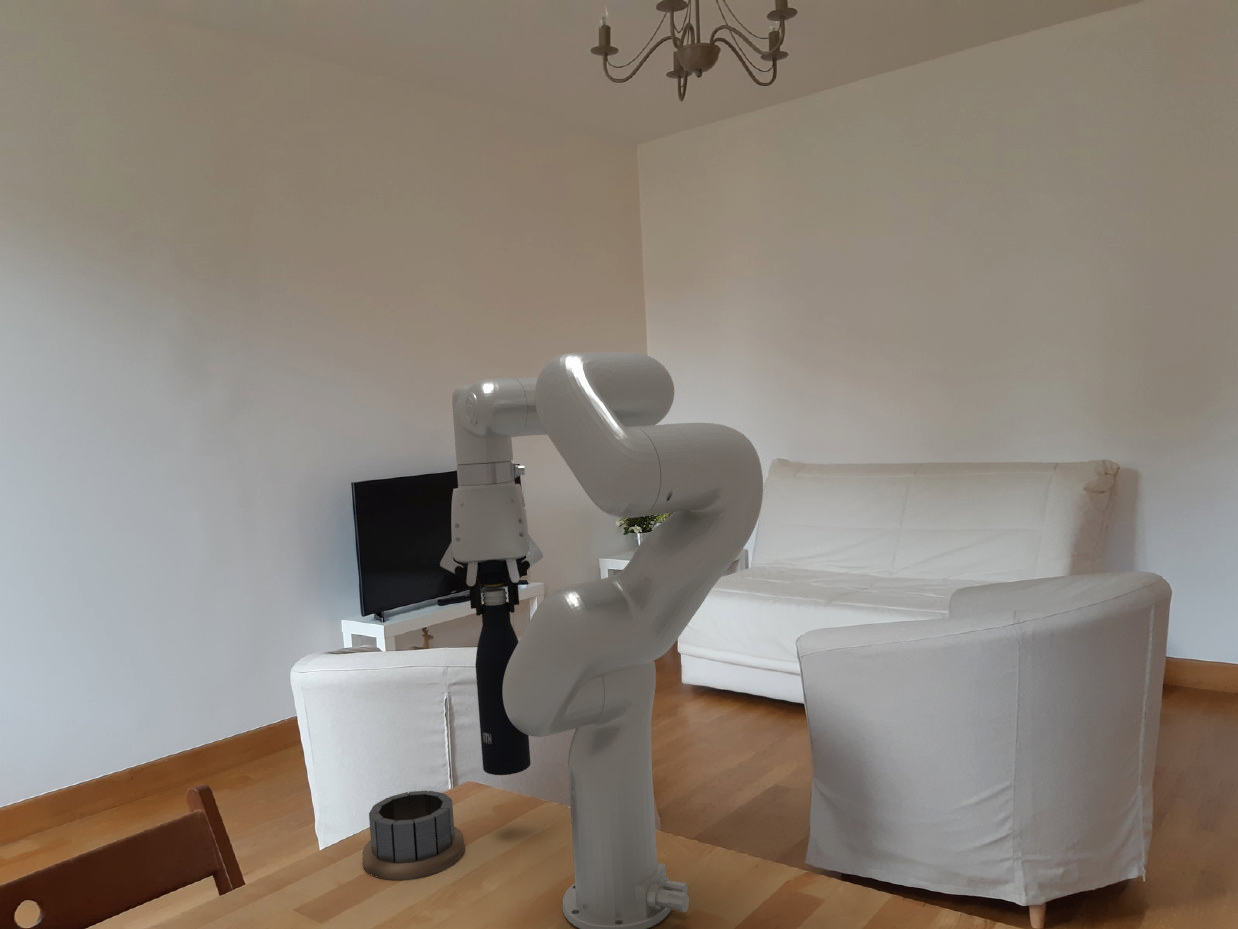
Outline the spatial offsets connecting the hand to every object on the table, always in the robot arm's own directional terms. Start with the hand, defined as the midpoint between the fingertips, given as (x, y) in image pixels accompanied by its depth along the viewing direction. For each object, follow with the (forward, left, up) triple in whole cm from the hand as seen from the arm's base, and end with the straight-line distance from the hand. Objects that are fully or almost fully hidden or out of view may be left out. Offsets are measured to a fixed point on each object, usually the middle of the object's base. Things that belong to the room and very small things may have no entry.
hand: (495, 610), depth 126 cm
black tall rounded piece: (0, 0, -21) cm, 22 cm away
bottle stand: (+8, +10, -31) cm, 33 cm away
